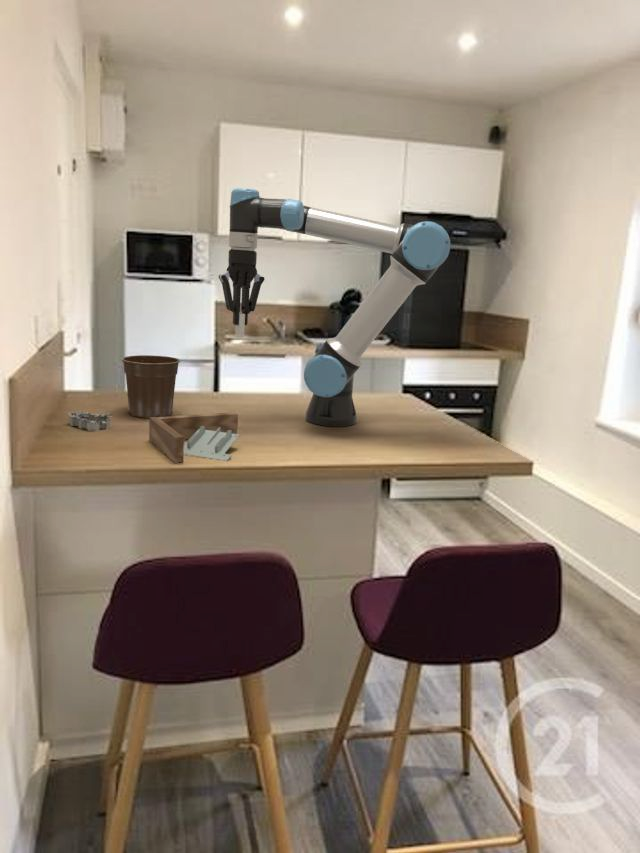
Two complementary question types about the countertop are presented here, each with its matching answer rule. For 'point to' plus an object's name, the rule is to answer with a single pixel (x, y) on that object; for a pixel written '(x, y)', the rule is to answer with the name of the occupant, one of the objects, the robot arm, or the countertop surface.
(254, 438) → the countertop surface
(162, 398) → the plant pot
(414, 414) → the countertop surface
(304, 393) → the countertop surface
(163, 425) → the wooden corner frame
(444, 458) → the countertop surface
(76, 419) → the egg carton
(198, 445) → the metal bracket
